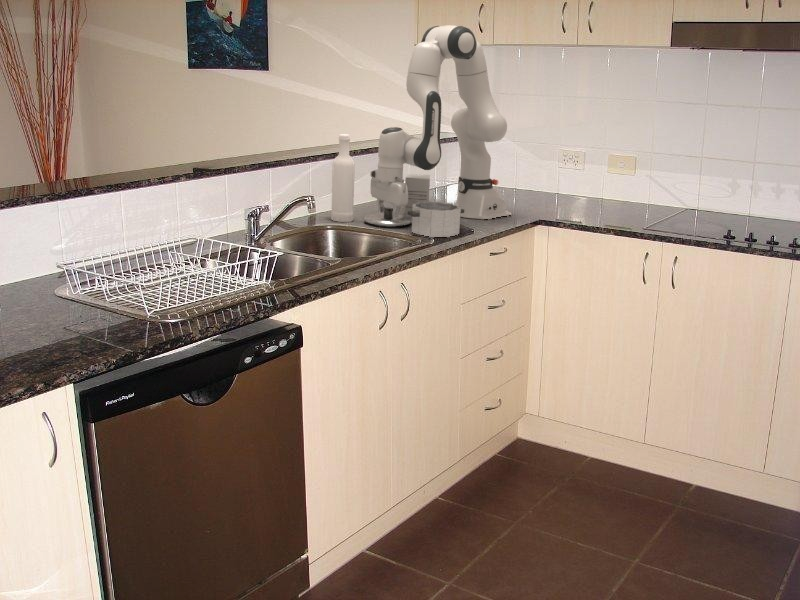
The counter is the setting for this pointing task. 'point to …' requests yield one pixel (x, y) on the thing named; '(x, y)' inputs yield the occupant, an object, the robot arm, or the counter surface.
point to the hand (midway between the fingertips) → (388, 214)
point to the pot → (435, 219)
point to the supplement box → (416, 190)
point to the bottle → (343, 183)
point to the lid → (387, 219)
